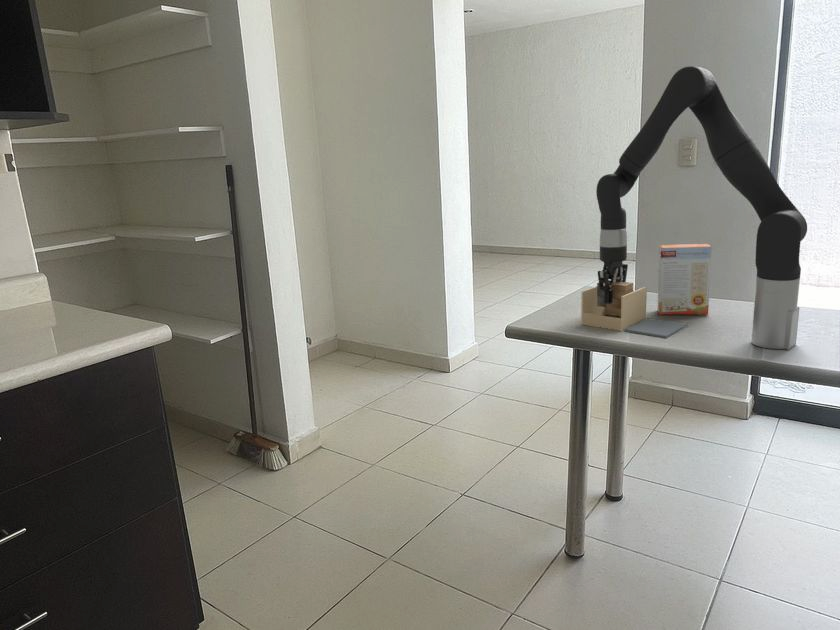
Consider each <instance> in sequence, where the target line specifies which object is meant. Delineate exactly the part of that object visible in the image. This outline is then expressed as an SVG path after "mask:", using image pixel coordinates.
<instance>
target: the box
mask: <svg viewBox="0 0 840 630" xmlns="http://www.w3.org/2000/svg"><path fill="white" fill-rule="evenodd" d="M603 285H604V283H603ZM596 286H597V306H601V307H609V308H617V309H621V296H624V295H626V294H629V293H631V292H634V282H629V281H628V282H627V281H626V282H619V281H615V283H614V284H613V289H612V303H611V304H607V303H605V302H604V291H603V290H600V286H599V282H597V283H596ZM609 287H610V283H609Z"/></svg>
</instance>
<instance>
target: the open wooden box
mask: <svg viewBox="0 0 840 630" xmlns="http://www.w3.org/2000/svg"><path fill="white" fill-rule="evenodd" d="M647 293H648V287H647V286H643V287H641V288H639V289H636V290H633V292H631V293H629V294H626V295H624V296H621V309H617V308H609V307H601V306H597V285H595V286H593V287H591V288H588V289H585V290H582V291H581V300H580V301H581V302H580V303H581V307H580V309H581V311H580V312H581V313H580V315H581V317H580V318H581V319H580V320H581V321H580V322H581V323H580V325H583V326H589V327H596V328H600V327H601V329H606V328H608V329H607V330H612V329H613V331H619V332H623V331H624V330H625V329H626V328H628V327H630V326H632V325H634V324H636V323H638V322H640V321H642V320H644V319H646V318H647V295H648V294H647ZM607 315H608V316H607ZM613 316H616V317H613ZM624 332H625V331H624Z"/></svg>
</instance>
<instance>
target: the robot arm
mask: <svg viewBox="0 0 840 630" xmlns="http://www.w3.org/2000/svg"><path fill="white" fill-rule="evenodd" d="M719 86H720V85H718V82H717V80H716V79H715V76H714V75H713V73H712V72H711V71H710V70H709V69H706V68H705V67H699V66H693V65H690V66H684V67H681V68H680V69H678V71H676V72H675V73H674V74H673V75H672V77H671V78H670V80H669V82H668V83H667V86H666V87H665V89H664V91H663V93H662V95H661V96H660V99H659V100H658V102H657V104H656V106H655V107H654V109H653V110H652V112H651V114H650V116H649V117H648V119H646V121H645V123H644V125H643V126H642V127H641V129H640V130H639V132H638V133H637V134H636V136H635V137H634V138H633V139H632V141H631V142H630V143H629V144H628V146H627V148H626V149H625V150H624V152H622V154H621V156H620V157H619V159H618V163H619V165H618V167H617V168H616V170H615V171H614V172H613V173H609V174H608V173H607V174H605V175H603V176H601V177H600V178H599V180H598V182H597V184H596V193H595V194H596V200H597V204H598V210H599V213H600V233H599V260H600V261H601V262H603V267H602V270H598V271H597V279H598V283H599V286H600V290H603V291H604V302H605V303H607V304H611V303H612V289H613V284H614V283H615V281H619V282H627V275H628V267H629V266H628V264H626V263H623V262H624V261H626V260H627V257H628V256H627V255H628V253H627V251H628V235H627V234H628V233H627V211H626V209H625V208H623V207H622V204H621V203H622V202H621V201H622V200H621V198H623V197H625V196H626V195H627V194H628V193H629V192H630V191H631V190H632V188H633V187H634V185H635V184H636V182H637V180H638V178H639V176H640V175H641V172H642V171H643V170H644V169H645V167H647V165H648V164H649V163H650V161H651V160H652V159H653V157H654V156H655V155H656V154H657V152H658V150H659V149H660V147H661V146H662V144H663V141H664V140H665V137H666V136H667V134H668V132H669V130H670V128H671V127H672V126H673V124H674V122H675V121H676V120H677V119H678V118H679V116H680V115H682V113H684V112H685V111H686V110H687V108H689V109H690V110H691V112H692V113H693V114H694V115H693V116H695V117H696V119H697V120H698V121H699V123H700V125H701V127H702V129H703V132H704V134H705V137H706V141H707V145H708V148H709V151H710V154H711V156H712V159H713V160H714V162H715V163H716V165H717V167H718V168H719V170H720V171H721V173H722V175H723V176H724V177H725V179H726V180H727V181H728V182H729V184H731V185H732V187H734V188H735V190H736V191H738V193H740V194H741V196H743V197H744V198H745V199H746V200H747V201H748V202H749V203H750V204H751V207H752V208H753V209H754V210H755V212H756V215H757V216H758V218H759V221H760V223H759V225H758V228H757V233H756V242H755V243H756V245H755V260H754V261H755V267H756V280H755V292H754V304H753V315H752V318H753V319H752V328H751V329H752V330H751V344H753V345H754V346H756V347H760V348H764V349H770V350H771V349H772V350H791V349H792V348H793V347H794V346H795V345H796V344H797V339H798V328H799V326H798V325H799V318H800V306H798V303H799V290H800V281H801V272H802V268H801V265H800V252H801V242H802V241H803V240H804V239H805V237H806V236H807V232H808V223H807V220H806V218H805V217H804V215H803V214H802V213H801V211H799V210H798V208H797V206H795V204H794V203H793V202H792V201H791V199H790V198H789V197H788V196H787V195H786V193H785V192H784V191H783V190H782V188H781V187H780V184H779V183H778V181H777V179H776V177H775V176H774V174H773V172H772V170H771V169H770V167H769V165H768V163H767V161H766V160H765V158H764V156H763V155H762V153H761V151H760V150H759V148H758V147H757V144H756V143H755V141H754V140H753V138H752V137H751V136H750V134H749V133H748V131H747V130H746V129H745V127H744V126H743V125H742V123H741V122H740V120H739V119H738V118H737V116H736V115H735V114H734V112H733V111H732V109H731V108H730V107H729V105H728V103H727V101H726V99H725V97H724V95H723V92H722V91H721V89H720V87H719ZM603 283H604V285H603ZM609 283H610V287H609Z"/></svg>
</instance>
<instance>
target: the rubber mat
mask: <svg viewBox="0 0 840 630" xmlns="http://www.w3.org/2000/svg"><path fill="white" fill-rule="evenodd" d="M686 326H687V327H688V326H689V324H688V323H684V322H676V321H671V320H663V319H657V318H649V317H648V318H647V317H646V319H644V320H642V321H640V322H638V323H636V324H634V325H632V326H630V327H628V328H626V329H625V330H624V332H628V333H632V334H633V333H634V334H640V335H646V336H651V337H657V338H663V339H664V338H665V339H667V338H669V337H671V336H673V335H675V334H676V333H678V332H680V331H682V330H683V329H684V327H685V328H687V327H686ZM679 330H680V331H679ZM677 331H678V332H677ZM675 332H676V333H675ZM672 334H673V335H672Z"/></svg>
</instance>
